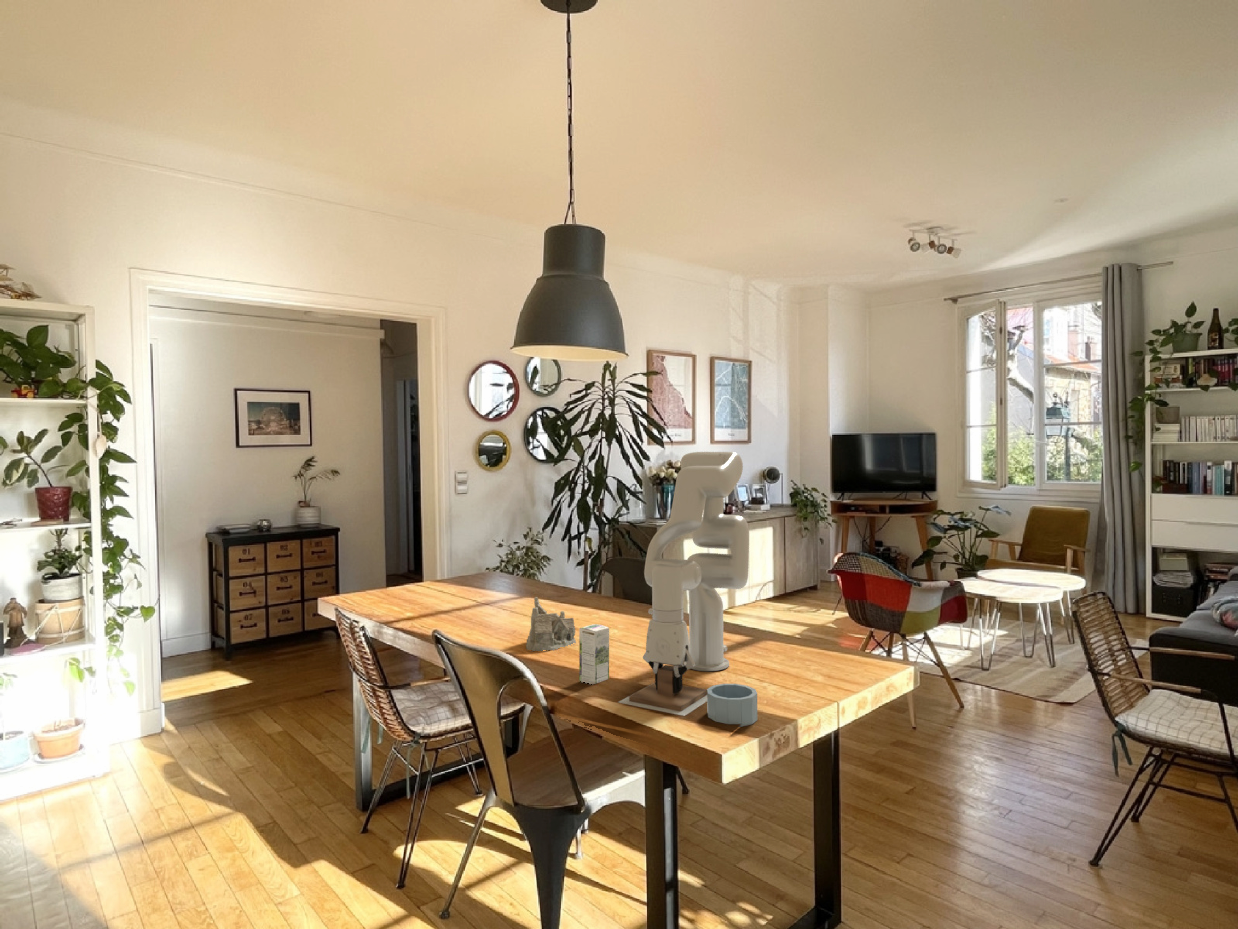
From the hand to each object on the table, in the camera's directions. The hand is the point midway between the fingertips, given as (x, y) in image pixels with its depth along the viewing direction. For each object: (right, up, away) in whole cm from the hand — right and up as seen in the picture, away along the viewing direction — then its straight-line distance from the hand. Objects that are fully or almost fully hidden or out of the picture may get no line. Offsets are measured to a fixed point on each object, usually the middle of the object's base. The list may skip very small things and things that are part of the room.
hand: (668, 689), depth 183 cm
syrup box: (-19, -3, +16) cm, 24 cm away
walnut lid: (0, -2, 0) cm, 2 cm away
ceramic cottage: (-34, -2, +53) cm, 63 cm away
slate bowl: (+14, -3, -12) cm, 18 cm away
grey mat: (0, -3, 0) cm, 3 cm away
